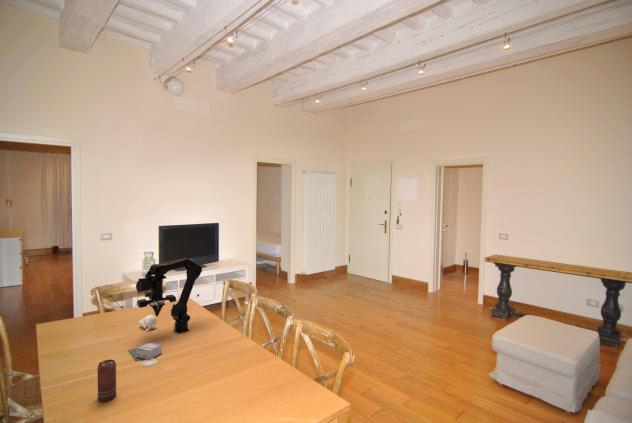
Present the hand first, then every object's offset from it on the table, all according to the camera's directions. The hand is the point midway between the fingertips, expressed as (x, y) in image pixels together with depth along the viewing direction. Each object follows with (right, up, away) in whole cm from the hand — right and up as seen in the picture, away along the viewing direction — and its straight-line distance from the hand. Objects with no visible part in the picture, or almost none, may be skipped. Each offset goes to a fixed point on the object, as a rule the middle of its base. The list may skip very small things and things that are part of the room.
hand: (156, 316), depth 189 cm
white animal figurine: (-13, -12, +16) cm, 24 cm away
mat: (0, -14, -15) cm, 20 cm away
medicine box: (+6, -11, -14) cm, 19 cm away
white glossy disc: (+8, -15, -25) cm, 30 cm away
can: (+5, -16, -53) cm, 55 cm away
